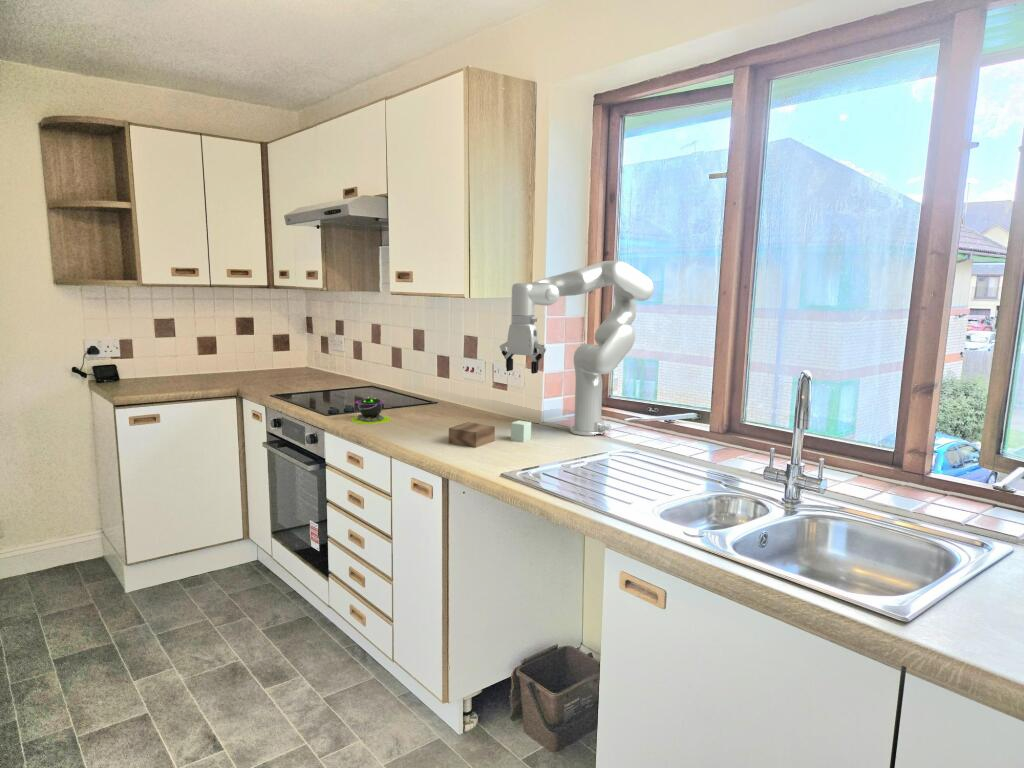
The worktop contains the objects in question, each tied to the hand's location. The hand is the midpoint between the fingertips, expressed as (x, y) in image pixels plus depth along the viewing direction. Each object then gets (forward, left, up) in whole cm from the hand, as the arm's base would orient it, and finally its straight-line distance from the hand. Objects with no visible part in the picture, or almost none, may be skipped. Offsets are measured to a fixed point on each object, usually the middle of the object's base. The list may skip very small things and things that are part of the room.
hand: (521, 371), depth 223 cm
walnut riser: (+12, +12, -23) cm, 29 cm away
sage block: (0, 0, -23) cm, 23 cm away
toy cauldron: (+64, +6, -24) cm, 68 cm away
